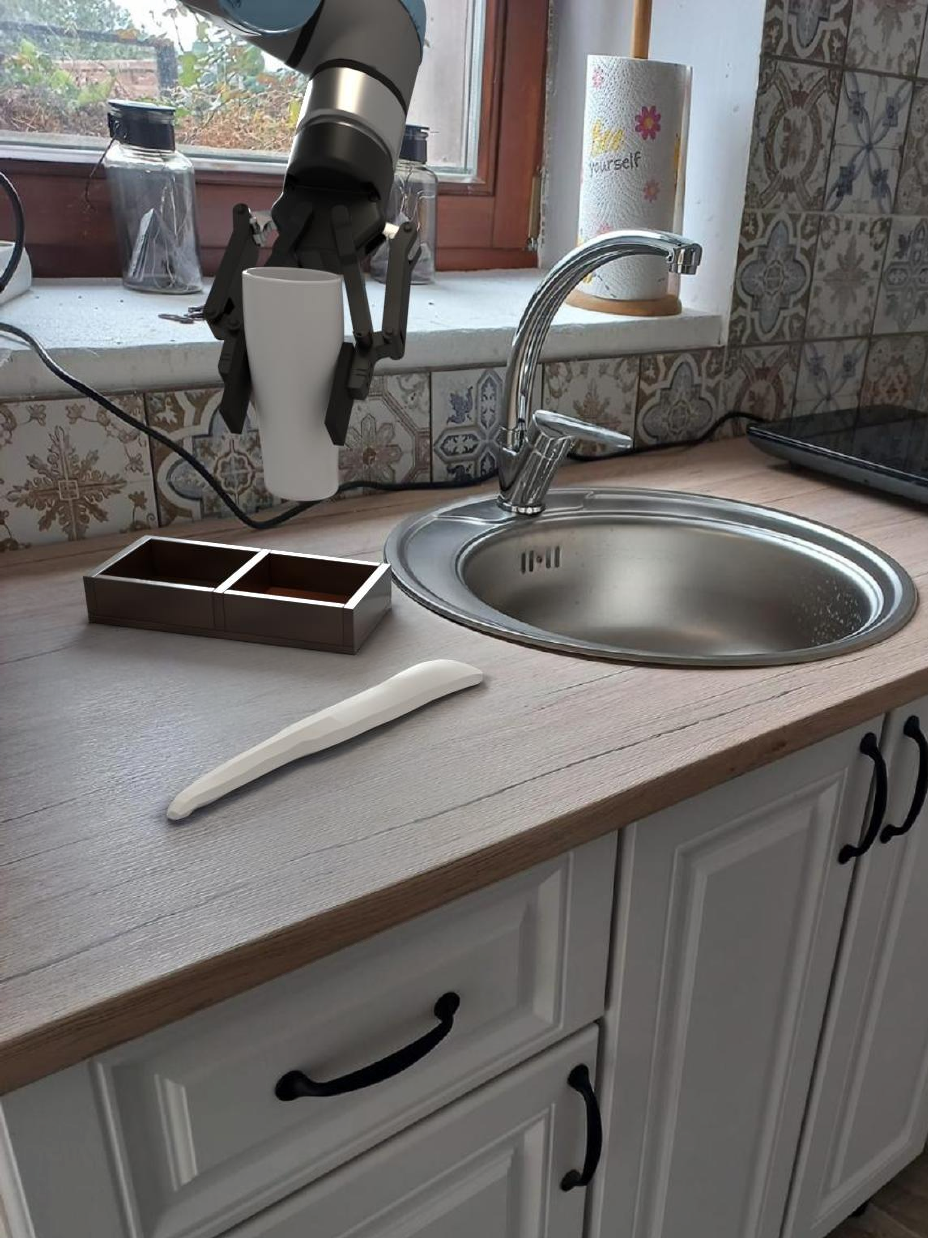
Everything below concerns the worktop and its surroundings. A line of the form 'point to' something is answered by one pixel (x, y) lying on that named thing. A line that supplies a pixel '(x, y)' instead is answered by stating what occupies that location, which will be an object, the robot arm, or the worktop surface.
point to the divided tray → (240, 593)
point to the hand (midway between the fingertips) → (282, 428)
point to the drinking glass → (294, 375)
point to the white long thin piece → (330, 728)
